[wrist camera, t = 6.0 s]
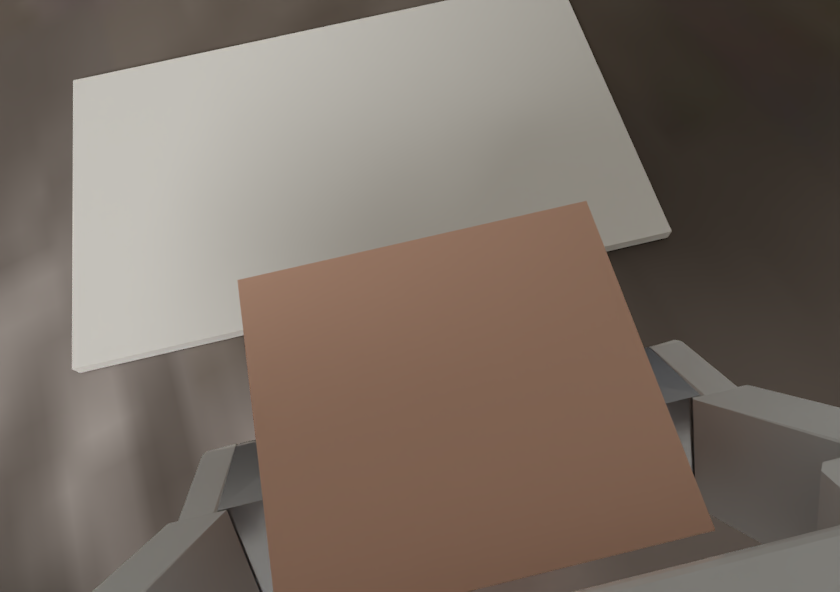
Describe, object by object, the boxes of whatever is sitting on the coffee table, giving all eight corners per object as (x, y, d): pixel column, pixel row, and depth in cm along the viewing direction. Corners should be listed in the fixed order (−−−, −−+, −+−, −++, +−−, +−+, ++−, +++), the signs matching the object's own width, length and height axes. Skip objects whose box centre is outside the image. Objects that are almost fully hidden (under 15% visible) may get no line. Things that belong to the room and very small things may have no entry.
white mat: (79, 373, 18) (72, 369, 17) (79, 88, 22) (73, 80, 22) (667, 237, 18) (671, 231, 18) (556, -14, 23) (558, -24, 22)
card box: (387, 584, 15) (278, 639, 6) (358, 428, 17) (237, 279, 8) (561, 542, 15) (715, 530, 6) (516, 391, 17) (586, 200, 8)
